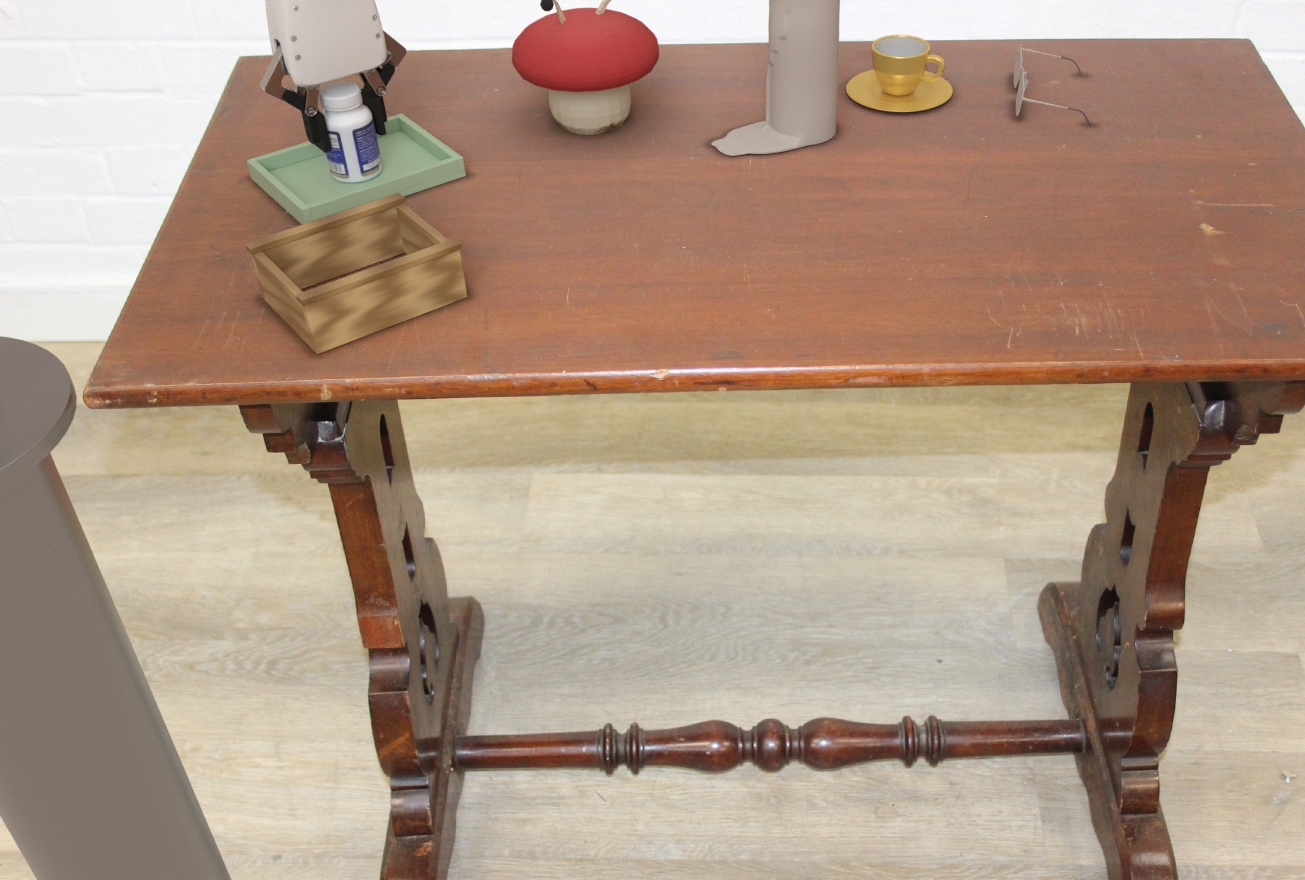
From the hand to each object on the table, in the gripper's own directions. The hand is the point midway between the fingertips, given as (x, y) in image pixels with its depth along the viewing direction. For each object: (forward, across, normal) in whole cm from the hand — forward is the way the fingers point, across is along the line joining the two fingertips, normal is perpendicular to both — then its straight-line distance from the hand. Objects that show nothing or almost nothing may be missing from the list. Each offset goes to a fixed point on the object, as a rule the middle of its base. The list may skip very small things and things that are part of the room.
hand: (349, 137), depth 141 cm
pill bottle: (+4, 0, 0) cm, 4 cm away
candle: (+5, -39, +20) cm, 44 cm away
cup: (+5, -57, +20) cm, 61 cm away
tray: (+4, 0, 0) cm, 4 cm away
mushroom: (+5, -26, +4) cm, 27 cm away
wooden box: (+4, +10, +22) cm, 25 cm away
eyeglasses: (+5, -69, +32) cm, 76 cm away
